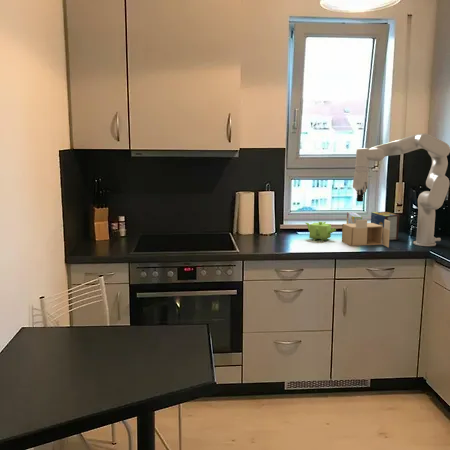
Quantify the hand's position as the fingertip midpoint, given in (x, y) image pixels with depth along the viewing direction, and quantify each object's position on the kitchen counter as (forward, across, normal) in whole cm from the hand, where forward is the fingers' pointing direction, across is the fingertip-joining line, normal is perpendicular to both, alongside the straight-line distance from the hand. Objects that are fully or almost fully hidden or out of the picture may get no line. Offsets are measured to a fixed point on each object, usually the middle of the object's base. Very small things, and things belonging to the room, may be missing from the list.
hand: (359, 201), depth 308 cm
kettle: (+26, -20, -14) cm, 36 cm away
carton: (+26, -4, +5) cm, 27 cm away
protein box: (+26, -16, +27) cm, 41 cm away
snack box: (+26, -20, +8) cm, 34 cm away
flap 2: (+25, +8, +14) cm, 30 cm away
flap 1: (+25, +3, 0) cm, 26 cm away
